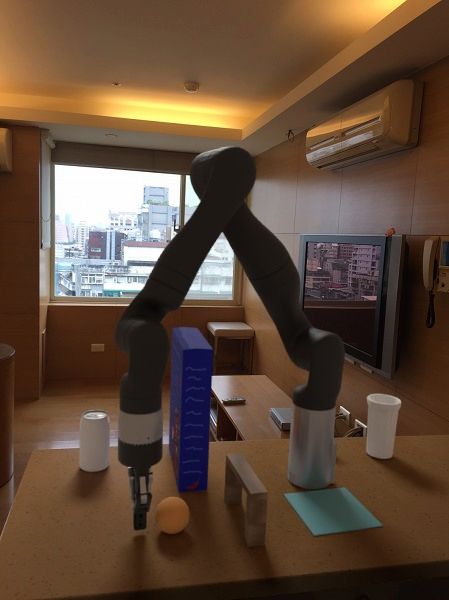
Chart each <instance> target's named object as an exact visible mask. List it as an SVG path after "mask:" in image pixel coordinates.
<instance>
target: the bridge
mask: <svg viewBox="0 0 449 600" xmlns="http://www.w3.org/2000/svg"><path fill="white" fill-rule="evenodd" d="M224 472H225V474H224V478H225V479H224V495H223V501H224V503H225V505H226V506H227V507H229V506H237V505H239V506H240V505H242V503H243V501H242V500H243V490H244V492H245V494H246V507H245V508H246V509H245V522H244V523H245V525H244V526H245V527H244V542H245V544H246V546H247V548H255V547H261V546H266V530H267V529H266V528H267V516H268V515H267V514H268V499H269V498H268V495H269V492H268V489H266V487H265V485H264V484H263V483H262V482H261V480H260V479H259V476H258V475H257V474H256V473H255V471H254V469H253V468H252V467H251V465H250V464H249V462H248V461H247V460H246V459H245V457H244V455H243V453H242V452H235V453H226V454H225V471H224Z"/></svg>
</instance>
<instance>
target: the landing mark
mask: <svg viewBox="0 0 449 600" xmlns="http://www.w3.org/2000/svg"><path fill="white" fill-rule="evenodd" d="M283 496H284V498H285V500H287V502H288V503H289V505H290V506H291V507H292V509H293V510H294V511H295V513H296V514H297V515H298V516H299V518H300V519H301V520H302V522H303V524H304V525H305V526H306V528H307V529H308V530H309V531H310V533H311V534H312V535H313V537H318V536H325V535H332V534H339V533H346V532H353V531H361V530H368V529H374V528H381V527H384V525H383V524H382V523H381V522H380V521H379V520H378V519H377V518H376V517H375V515H373V514H372V513H371V512H370V511H369V510H368V509H367V508H366V507H365V506H364V505H363V504H362V503H361V502H360V501H359V500H358V499H357V498H356V497H355V496H354V495H353V494H352V493H351V492H350V491H349V490H348V489H347V488H346V487H344V486H343V487H336V488H326V489H325V488H323V489H315V490H309V491H301V492H291V493H283Z"/></svg>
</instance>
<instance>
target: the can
mask: <svg viewBox="0 0 449 600" xmlns="http://www.w3.org/2000/svg"><path fill="white" fill-rule="evenodd" d="M110 443H111V421H110V417H109V413H108V412H107V411H106V410H103V409H93V410H87V411H85V412H83V413H82V414H81V418H80V421H79V451H78V453H79V454H78V455H79V458H78V459H79V468H80V469H81V470H82V471H84V472H86V473H98V472H102V471H104V470H106V469H107V468H108V467H109V466H110V455H111V454H110V452H111V451H110V449H111V448H110Z"/></svg>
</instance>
